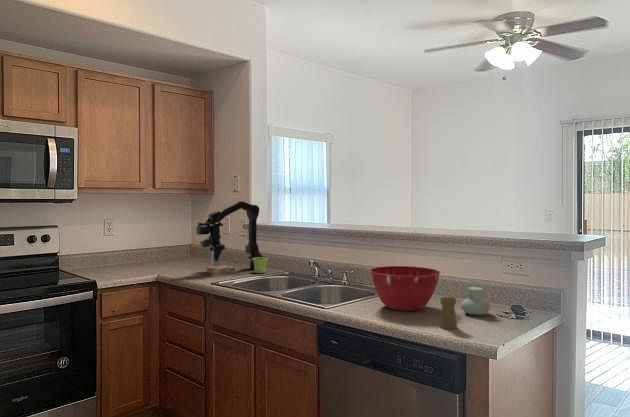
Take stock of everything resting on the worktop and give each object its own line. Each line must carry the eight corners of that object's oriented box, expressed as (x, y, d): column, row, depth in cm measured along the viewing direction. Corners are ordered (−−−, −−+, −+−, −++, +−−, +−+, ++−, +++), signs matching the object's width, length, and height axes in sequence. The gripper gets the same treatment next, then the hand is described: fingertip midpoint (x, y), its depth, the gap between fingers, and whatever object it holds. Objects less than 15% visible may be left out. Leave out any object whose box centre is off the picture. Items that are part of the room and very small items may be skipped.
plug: (217, 264, 290) (217, 250, 289) (219, 265, 287) (218, 251, 286) (211, 264, 288) (211, 251, 288) (213, 265, 285) (212, 251, 285)
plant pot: (271, 272, 290) (271, 258, 289) (261, 274, 282) (261, 259, 281) (259, 271, 295) (259, 256, 294) (248, 273, 287) (248, 258, 286)
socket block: (229, 270, 297) (229, 265, 297) (235, 273, 288) (235, 267, 288) (206, 272, 290) (206, 266, 290) (211, 274, 281) (211, 269, 281)
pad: (242, 272, 290) (242, 271, 290) (248, 274, 282) (248, 273, 282) (228, 273, 285) (228, 272, 285) (233, 276, 278) (233, 275, 278)
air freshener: (473, 309, 197) (473, 285, 197) (492, 313, 191) (492, 288, 191) (458, 314, 190) (458, 288, 190) (478, 318, 184) (478, 291, 184)
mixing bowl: (385, 297, 221) (385, 263, 220) (448, 304, 206) (449, 268, 206) (358, 310, 197) (358, 271, 196) (427, 319, 182) (427, 278, 181)
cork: (453, 324, 175) (454, 293, 175) (459, 329, 169) (459, 297, 168) (437, 324, 175) (437, 294, 174) (441, 329, 169) (442, 297, 168)
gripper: (197, 233, 291) (197, 259, 292) (205, 235, 275) (206, 263, 275) (215, 232, 296) (215, 258, 297) (225, 235, 280) (225, 262, 281)
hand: (215, 260), depth 287 cm, fingers closed on plug, 4 cm apart
